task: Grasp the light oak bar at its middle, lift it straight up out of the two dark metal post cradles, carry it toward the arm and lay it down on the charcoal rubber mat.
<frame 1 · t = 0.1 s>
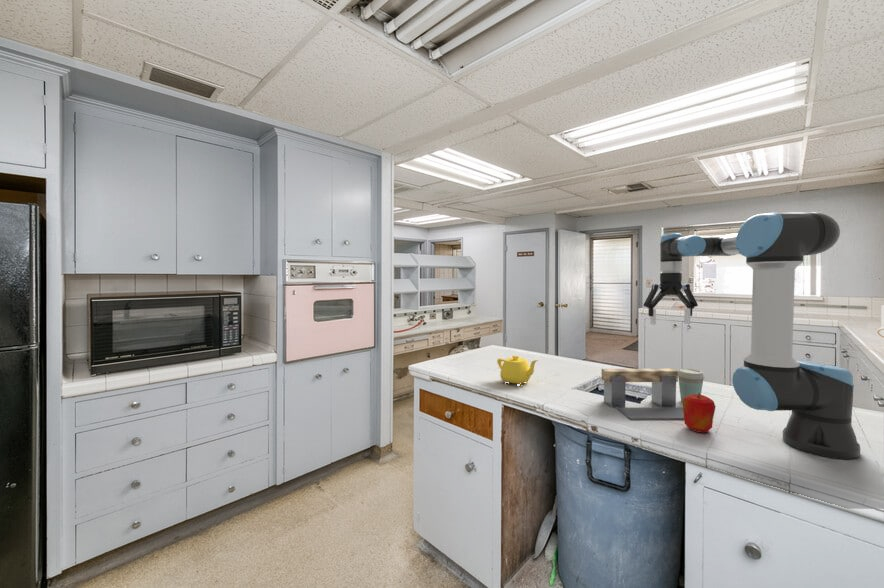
hand: (670, 324, 151), 28 cm above the worktop, fingers open, 13 cm apart
coffee cup: (690, 402, 140), on the worktop
rail: (639, 380, 138), point 9 cm above the worktop, touching rack
apple: (698, 430, 115), on the worktop
rack: (638, 404, 138), on the worktop
teapot: (517, 383, 168), on the worktop
mat: (658, 414, 128), on the worktop
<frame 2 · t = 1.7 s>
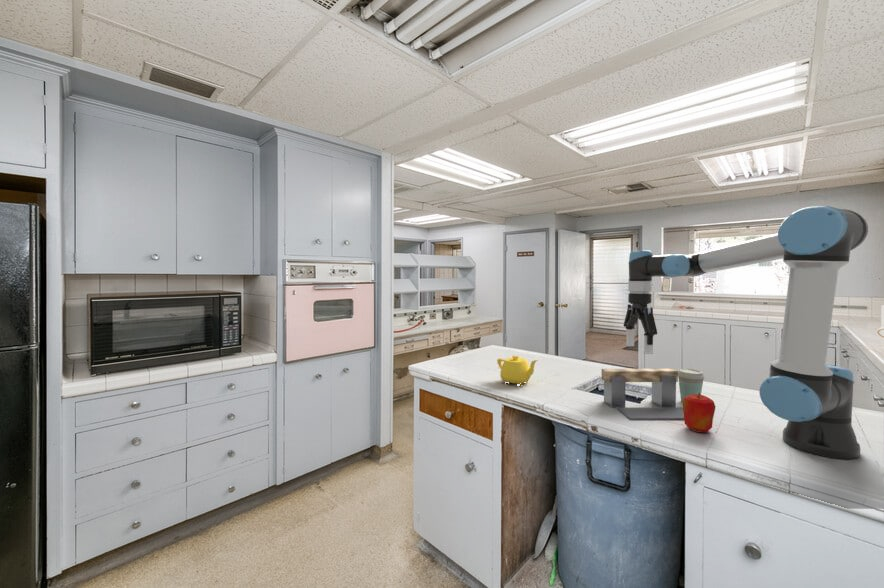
hand: (638, 349, 138), 21 cm above the worktop, fingers open, 13 cm apart
nothing on the worktop moved.
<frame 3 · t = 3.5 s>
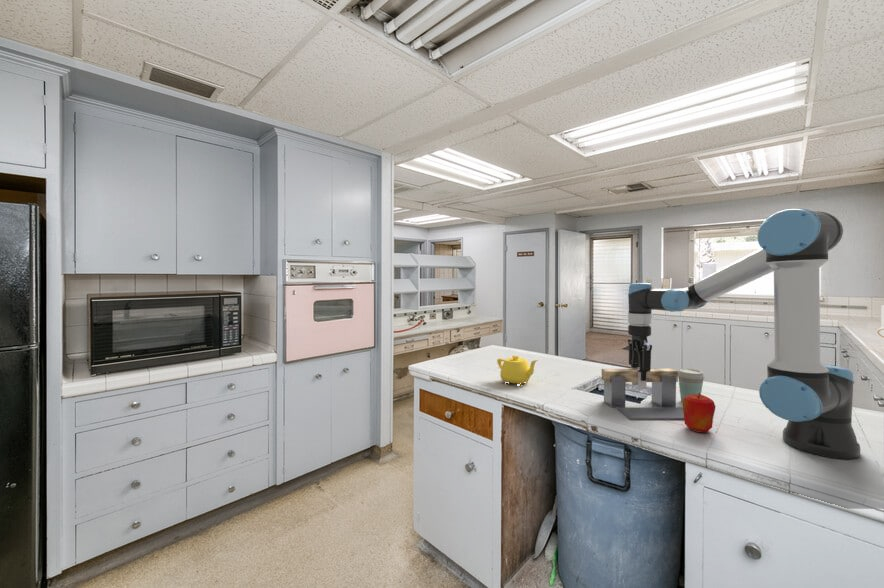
hand: (638, 386, 138), 7 cm above the worktop, fingers closed on rail, 4 cm apart
rail: (639, 380, 138), point 9 cm above the worktop, touching gripper, rack
everything else where it was.
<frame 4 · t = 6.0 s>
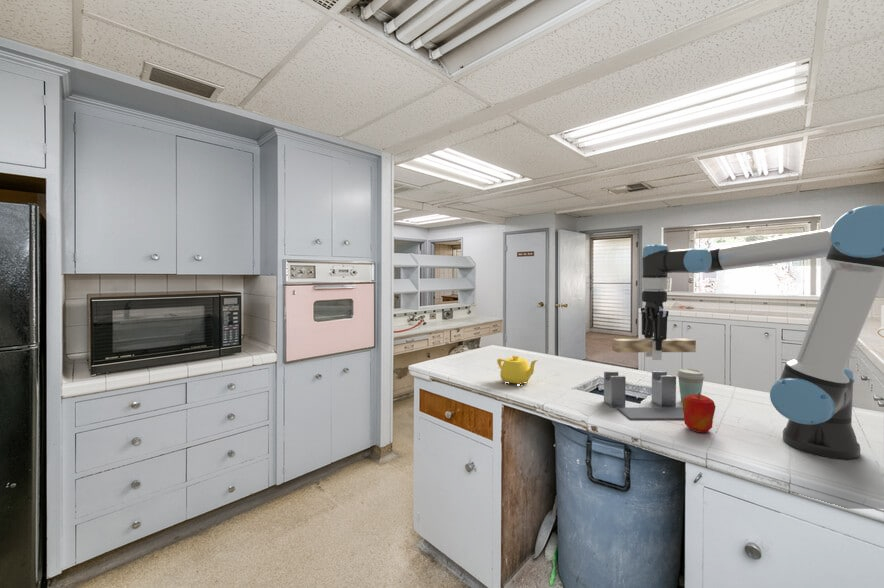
hand: (653, 357, 128), 20 cm above the worktop, fingers closed on rail, 4 cm apart
rail: (653, 351, 127), point 22 cm above the worktop, touching gripper
everything else where it was.
when the fingers open (1 cm above the worktop, at t = 8.6 s): rail drops 3 cm, resting on mat.
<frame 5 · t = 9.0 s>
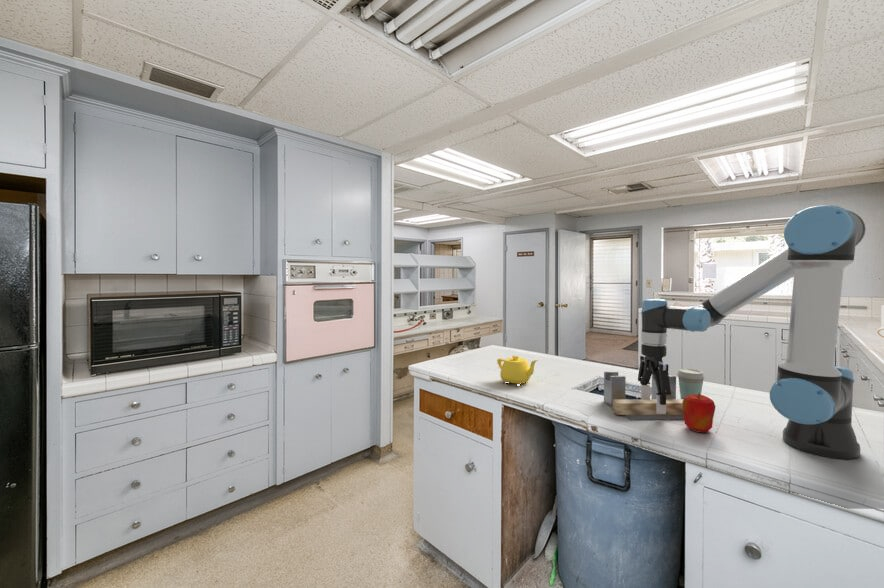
hand: (652, 408, 128), 2 cm above the worktop, fingers open, 9 cm apart
rail: (652, 412, 128), point 1 cm above the worktop, touching mat
everything else where it was.
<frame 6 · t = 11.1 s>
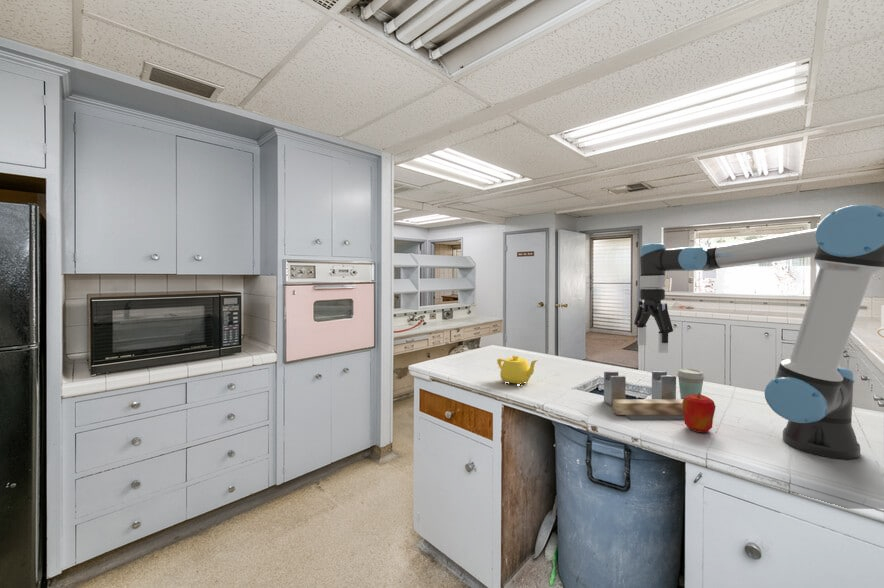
hand: (652, 348, 130), 22 cm above the worktop, fingers open, 13 cm apart
nothing on the worktop moved.
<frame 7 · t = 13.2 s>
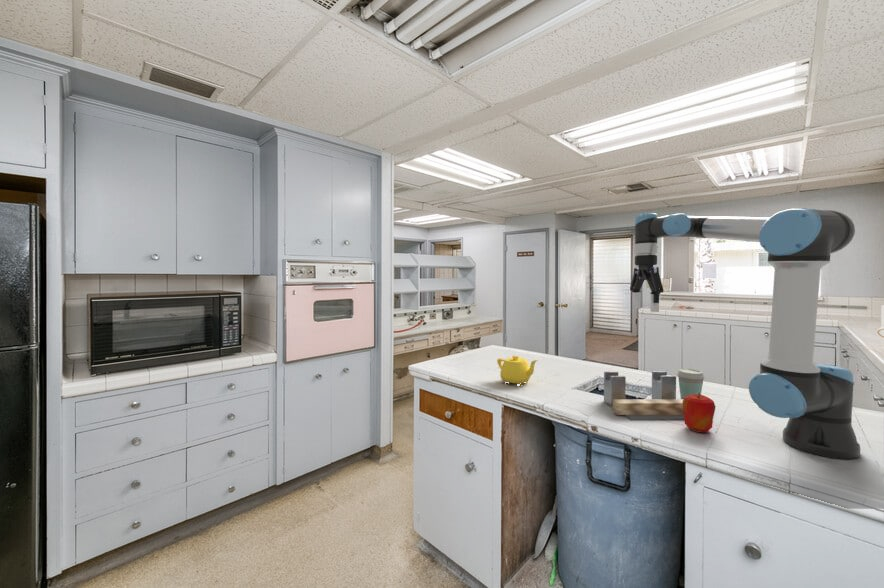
hand: (645, 310, 143), 35 cm above the worktop, fingers open, 13 cm apart
nothing on the worktop moved.
at the end: rail inside the target area on the mat (2.0 cm from its centre), point 0.6 cm above the mat's base; rail touching mat; the gripper is holding nothing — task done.
